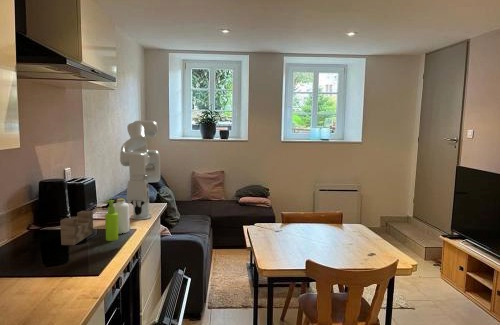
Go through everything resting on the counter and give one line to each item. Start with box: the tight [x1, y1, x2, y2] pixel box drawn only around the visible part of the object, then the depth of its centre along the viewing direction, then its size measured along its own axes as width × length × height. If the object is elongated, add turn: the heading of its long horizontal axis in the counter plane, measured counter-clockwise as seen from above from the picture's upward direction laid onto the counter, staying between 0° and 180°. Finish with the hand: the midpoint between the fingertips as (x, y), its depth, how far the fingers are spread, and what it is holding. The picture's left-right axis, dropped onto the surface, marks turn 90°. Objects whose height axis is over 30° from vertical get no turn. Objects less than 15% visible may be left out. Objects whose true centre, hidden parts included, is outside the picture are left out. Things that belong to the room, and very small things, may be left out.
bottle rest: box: [59, 210, 94, 246], centre depth 181 cm, size 20×6×12 cm, turn 178°
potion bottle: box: [113, 198, 130, 235], centre depth 193 cm, size 8×8×18 cm
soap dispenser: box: [102, 199, 119, 242], centre depth 180 cm, size 6×7×20 cm
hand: (138, 214), depth 179 cm, fingers closed
